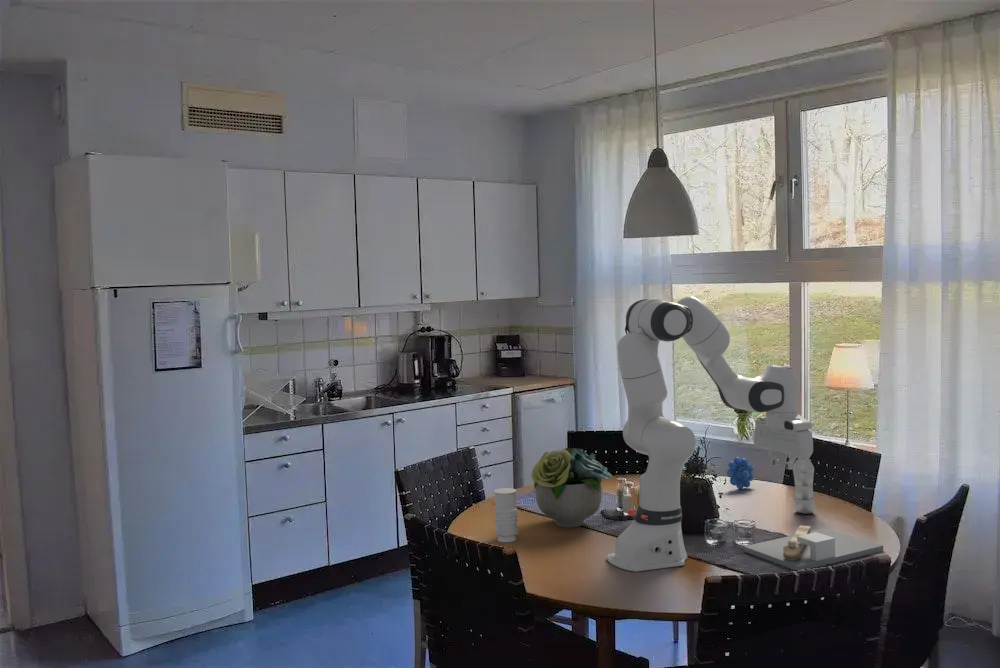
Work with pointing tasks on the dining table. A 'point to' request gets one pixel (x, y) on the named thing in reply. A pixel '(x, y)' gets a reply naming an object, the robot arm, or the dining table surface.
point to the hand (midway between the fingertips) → (782, 467)
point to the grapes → (740, 473)
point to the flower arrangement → (568, 485)
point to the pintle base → (805, 562)
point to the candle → (506, 514)
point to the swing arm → (796, 552)
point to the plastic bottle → (803, 486)
